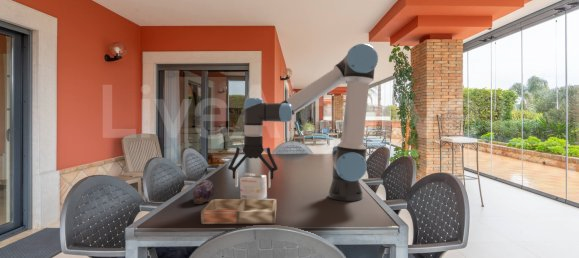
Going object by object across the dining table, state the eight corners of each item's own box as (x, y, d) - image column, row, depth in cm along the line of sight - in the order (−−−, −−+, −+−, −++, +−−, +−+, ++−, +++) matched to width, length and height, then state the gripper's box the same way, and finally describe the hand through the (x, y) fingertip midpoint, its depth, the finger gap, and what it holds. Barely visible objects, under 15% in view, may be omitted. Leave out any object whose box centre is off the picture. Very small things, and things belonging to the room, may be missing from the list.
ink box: (267, 202, 137) (267, 171, 137) (259, 207, 129) (259, 174, 129) (249, 200, 140) (248, 170, 139) (240, 206, 132) (239, 173, 131)
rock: (189, 208, 134) (214, 206, 135) (188, 188, 132) (213, 187, 133) (194, 196, 145) (217, 195, 146) (192, 178, 143) (216, 177, 145)
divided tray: (276, 209, 127) (276, 198, 127) (274, 223, 110) (274, 210, 110) (212, 209, 127) (212, 198, 127) (200, 223, 110) (200, 211, 109)
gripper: (283, 135, 137) (283, 185, 138) (224, 134, 137) (224, 184, 138) (283, 136, 130) (283, 189, 131) (221, 135, 130) (220, 188, 130)
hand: (252, 186), depth 134 cm, fingers open, 13 cm apart
